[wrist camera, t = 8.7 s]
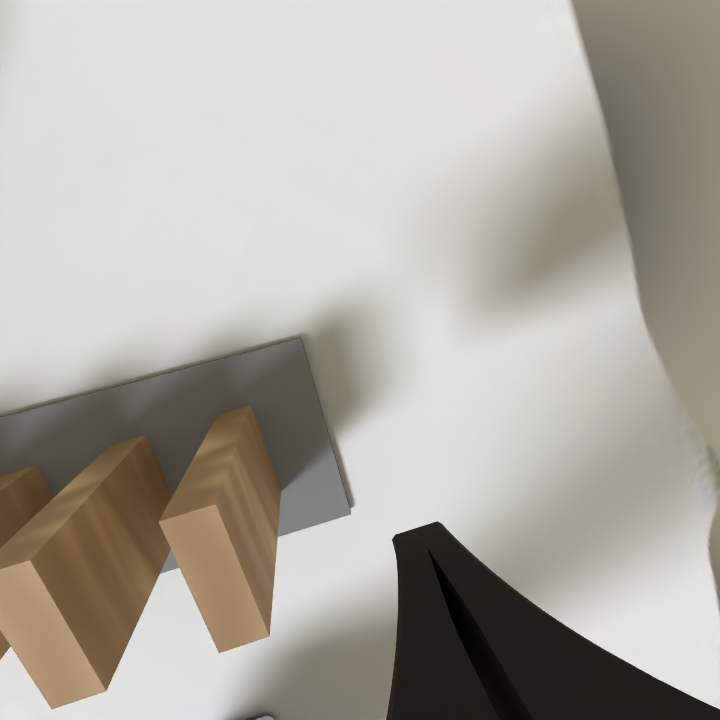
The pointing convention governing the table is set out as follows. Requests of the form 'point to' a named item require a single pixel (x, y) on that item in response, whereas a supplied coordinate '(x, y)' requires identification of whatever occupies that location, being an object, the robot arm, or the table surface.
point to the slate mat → (193, 429)
